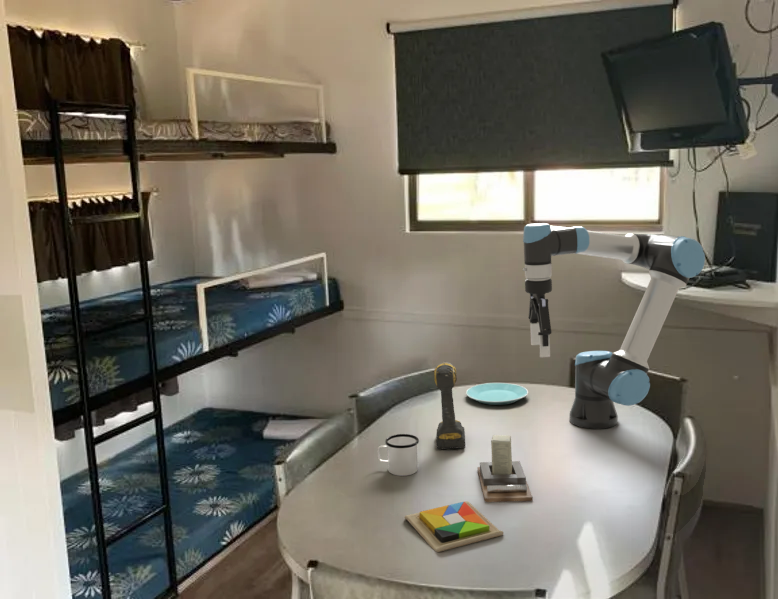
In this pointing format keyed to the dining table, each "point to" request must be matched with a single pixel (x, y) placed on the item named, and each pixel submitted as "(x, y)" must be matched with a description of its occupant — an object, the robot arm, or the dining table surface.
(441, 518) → the wooden puzzle
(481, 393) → the plate
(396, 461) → the mug
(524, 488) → the rod
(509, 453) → the box
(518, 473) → the stand
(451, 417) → the cordless drill
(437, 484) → the dining table surface
